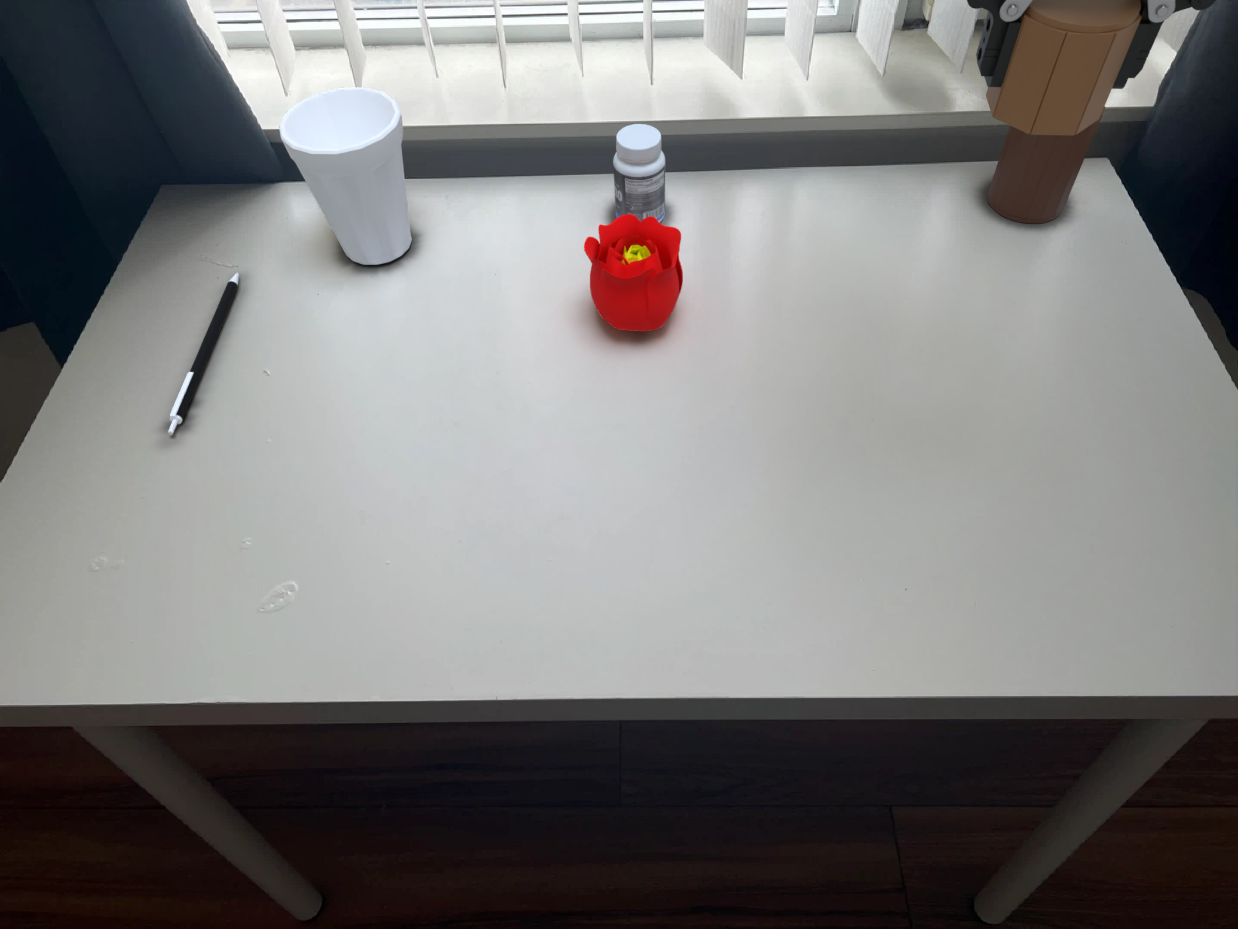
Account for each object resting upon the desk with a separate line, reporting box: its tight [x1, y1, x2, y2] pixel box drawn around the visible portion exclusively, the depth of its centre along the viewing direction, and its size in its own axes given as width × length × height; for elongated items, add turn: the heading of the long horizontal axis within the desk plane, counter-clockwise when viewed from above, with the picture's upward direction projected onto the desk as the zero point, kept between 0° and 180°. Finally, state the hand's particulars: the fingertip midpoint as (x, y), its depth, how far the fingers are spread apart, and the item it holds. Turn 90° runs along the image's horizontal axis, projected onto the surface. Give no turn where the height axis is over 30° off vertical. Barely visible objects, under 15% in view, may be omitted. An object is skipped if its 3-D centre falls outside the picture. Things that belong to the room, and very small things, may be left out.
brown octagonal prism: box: [985, 0, 1142, 135], centre depth 48 cm, size 6×6×6 cm
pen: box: [167, 271, 240, 436], centre depth 75 cm, size 1×19×1 cm, turn 179°
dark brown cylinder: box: [987, 105, 1106, 225], centre depth 79 cm, size 7×7×14 cm
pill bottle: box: [612, 123, 666, 224], centre depth 82 cm, size 5×5×8 cm
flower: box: [583, 214, 684, 332], centre depth 73 cm, size 8×8×8 cm
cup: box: [278, 86, 413, 266], centre depth 79 cm, size 10×10×13 cm
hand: (1051, 79), depth 49 cm, fingers closed on brown octagonal prism, 5 cm apart
